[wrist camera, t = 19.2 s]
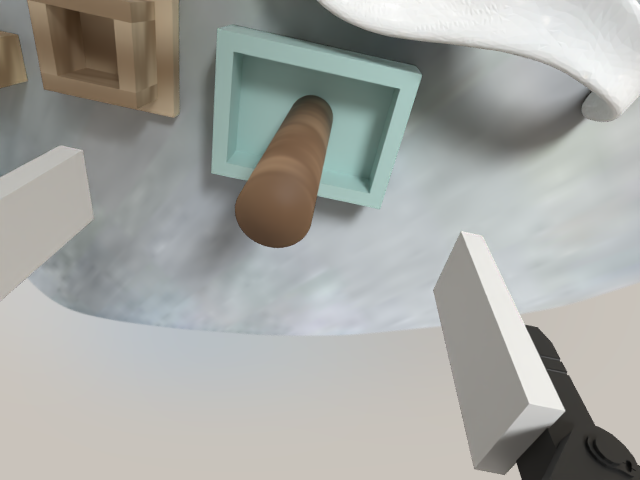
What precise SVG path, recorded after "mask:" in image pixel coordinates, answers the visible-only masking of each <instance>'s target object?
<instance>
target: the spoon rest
mask: <svg viewBox="0 0 640 480" xmlns="http://www.w3.org/2000/svg"><path fill="white" fill-rule="evenodd" d="M317 1H318V2H319V3H320V4H321V5H322V6H323V7H324V8H325V9H327V10H328V11H329V12H331V13H332V14H333V15H335V16H337V17H338V18H340V19H342V20H344V21H346V22H348V23H350V24H352V25H354V26H357V27H359V28H362V29H364V30H367V31H370V32H374V33H377V34H381V35H385V36H389V37H394V38H402V39H409V40H416V41H423V42H434V43H442V44H453V45H460V46H467V47H475V48H481V49H488V50H495V51H502V52H506V53H510V54H514V55H518V56H522V57H525V58H530V59H532V60H536V61H539V62H542V63H544V64H547V65H550V66H552V67H554V68H556V69H558V70H560V71H562V72H564V73H566V74H568V75H569V76H571V77H572V78H574V79H575V80H577V81H578V82H580V83H582V84H583V85H584V86H586V87H587V88H588V89H590V90H591V91H592V92H591V93H590V94H589V96H588V97H587V98H586V100H585V101H584V103H583V105H582V109H581V110H582V114H583V115H584V117H585V118H587V119H590V120H594V121H599V122H608V121H612V120H615V119H617V118H618V117H619V116H621V115H622V114H623V113H624V111H625V110H626V109H627V108H628V107H629V106H630V105H631V104H632V103H633V102H634V101H635V100H636V99H637V98H638V97H639V96H640V5H639V4H638V2H637V1H636V0H317Z"/></svg>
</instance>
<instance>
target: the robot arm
mask: <svg viewBox="0 0 640 480" xmlns="http://www.w3.org/2000/svg"><path fill="white" fill-rule="evenodd" d="M93 219H94V216H93V209H92V203H91V197H90V191H89V184H88V178H87V172H86V166H85V160H84V153H83V150H81V149H76V148H71V147H67V146H62V145H60V146H58V147H56V148H54V149H52V150H50V151H48V152H46V153H45V154H43V155H41V156H39V157H37V158H35V159H33V160H32V161H30V162H28V163H26V164H24V165H22V166H20V167H18V168H17V169H15V170H13V171H11V172H9V173H7V174H5V175H4V176H2V177H0V301H1V300H2V299H3V298H5V297H6V296H7V295H8V294H9V293H10V292H11V291H12V290H14V289H15V288H16V287H17V286H18V285H19V284H21V283H22V282H23V281H24V280H25V279H26V278H27V277H29V276H30V275H31V274H32V273H33V272H34V271H35V270H36V269H38V268H39V267H40V266H41V265H42V264H43V263H44V262H46V261H47V260H48V259H49V258H50V257H51V256H52V255H54V254H55V253H56V252H57V251H58V250H59V249H60V248H62V247H63V246H64V245H65V244H66V243H67V242H68V241H70V240H71V239H72V238H73V237H74V236H75V235H76V234H77V233H79V232H80V231H81V230H82V229H83V228H84V227H85V226H87V225H88V224H89V223H90V222H91V221H92V220H93ZM433 291H434V296H435V300H436V304H437V309H438V313H439V317H440V322H441V326H442V331H443V334H444V339H445V344H446V348H447V352H448V357H449V361H450V365H451V370H452V374H453V379H454V383H455V387H456V392H457V396H458V400H459V405H460V409H461V414H462V418H463V422H464V427H465V431H466V435H467V440H468V444H469V448H470V453H471V457H472V461H473V466H474V469H477V470H482V471H487V472H492V473H497V474H502V475H505V474H506V473H507V472H508V471H509V470H510V469H511V468H512V467H513V466H514V464H515V463H517V465H518V469H519V472H520V475H521V478H522V480H640V466H639V465H637V463H636V461H635V458H634V457H633V455H632V454H631V453H630V452H629V450H628V449H627V448H626V447H625V446H624V445H623V444H622V443H621V442H620V441H619V440H618V439H617V438H616V437H614V436H613V435H612V434H610V433H609V432H607V431H605V430H604V429H602V428H600V427H597V426H595V424H594V422H593V420H592V418H591V416H590V415H589V413H588V411H587V409H586V407H585V405H584V403H583V401H582V399H581V397H580V396H579V394H578V392H577V390H576V388H575V386H574V384H573V382H572V380H571V378H570V377H569V375H567V371H566V369H565V367H564V365H563V363H562V362H560V357H559V356H558V354H557V352H556V350H555V348H554V346H553V344H552V343H551V341H550V340H549V339H548V338H547V337H546V336H545V335H544V334H543V333H542V332H541V331H540V329H538V327H533V326H528V325H525V324H524V322H523V320H522V318H521V316H520V314H519V312H518V310H517V308H516V305H515V303H514V301H513V299H512V297H511V295H510V293H509V291H508V289H507V286H506V284H505V282H504V280H503V278H502V276H501V274H500V272H499V270H498V267H497V265H496V263H495V261H494V259H493V257H492V255H491V253H490V250H489V248H488V246H487V244H486V242H485V240H484V238H483V236H481V235H477V234H472V233H467V232H463V231H461V232H460V235H459V237H458V239H457V241H456V243H455V245H454V247H453V249H452V251H451V254H450V256H449V258H448V260H447V262H446V264H445V266H444V268H443V271H442V273H441V275H440V277H439V279H438V281H437V283H436V285H435V287H434V290H433Z"/></svg>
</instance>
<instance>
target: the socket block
mask: <svg viewBox="0 0 640 480" xmlns="http://www.w3.org/2000/svg"><path fill="white" fill-rule="evenodd" d="M27 2H28V7H29V12H30V18H31V23H32V28H33V34H34V39H35V44H36V50H37V55H38V60H39V66H40V71H41V76H42V82H43V87H44V89H45V90H50V91H54V92H59V93H62V94H67V95H72V96H76V97H81V98H85V99H90V100H95V101H99V102H104V103H108V104H113V105H118V106H122V107H127V108H131V109H136V110H141V111H145V112H150V113H155V114H159V115H164V116H168V117H173V118H174V117H176V116H177V115H179V0H27Z"/></svg>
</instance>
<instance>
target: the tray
mask: <svg viewBox="0 0 640 480" xmlns="http://www.w3.org/2000/svg"><path fill="white" fill-rule="evenodd" d="M421 77H422V74H421V72H420V71H419V70H418V68H417V67H416V66H414V65H410V64H405V63H401V62H397V61H392V60H388V59H383V58H379V57H374V56H370V55H366V54H361V53H357V52H352V51H348V50H343V49H339V48H335V47H330V46H326V45H321V44H317V43H312V42H308V41H304V40H299V39H295V38H290V37H286V36H281V35H277V34H273V33H268V32H264V31H259V30H255V29H250V28H246V27H242V26H237V25H230V26H226V27H222V28H218V29H217V47H216V71H215V94H214V118H213V142H212V166H211V173H212V174H217V175H221V176H226V177H231V178H236V179H240V180H245V181H248V179H249V177H250V176H251V174H252V172H253V171H254V169H255V167H256V166H257V164H258V162H259V161H260V159H261V157H262V156H263V154H264V152H265V151H266V149H267V147H268V146H269V144H270V142H271V141H272V139H273V137H274V136H275V134H276V132H277V131H278V129H279V127H280V126H281V124H282V122H283V121H284V119H285V117H286V116H287V114H288V112H289V111H290V109H291V107H292V106H293V104H294V103H295V102H296V101H297V100H298V99H299V98H301V97H303V96H306V95H315V96H319V97H321V98H322V99H324V100H325V101H326V102H327V103H328V104H329V105H330V107H331V109H332V113H333V123H332V128H331V133H330V137H329V142H328V147H327V152H326V156H325V161H324V166H323V170H322V175H321V180H320V185H319V189H318V194H317V196H320V197H325V198H329V199H334V200H339V201H343V202H348V203H353V204H357V205H362V206H367V207H372V208H376V209H380V207H381V204H382V201H383V198H384V195H385V191H386V188H387V185H388V182H389V179H390V176H391V172H392V169H393V166H394V163H395V160H396V157H397V153H398V150H399V147H400V144H401V141H402V138H403V134H404V131H405V128H406V125H407V122H408V119H409V115H410V112H411V109H412V106H413V103H414V100H415V96H416V93H417V90H418V87H419V84H420V81H421Z"/></svg>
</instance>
